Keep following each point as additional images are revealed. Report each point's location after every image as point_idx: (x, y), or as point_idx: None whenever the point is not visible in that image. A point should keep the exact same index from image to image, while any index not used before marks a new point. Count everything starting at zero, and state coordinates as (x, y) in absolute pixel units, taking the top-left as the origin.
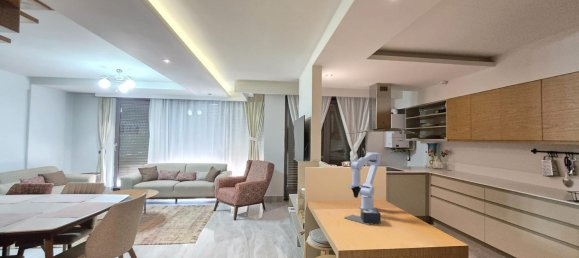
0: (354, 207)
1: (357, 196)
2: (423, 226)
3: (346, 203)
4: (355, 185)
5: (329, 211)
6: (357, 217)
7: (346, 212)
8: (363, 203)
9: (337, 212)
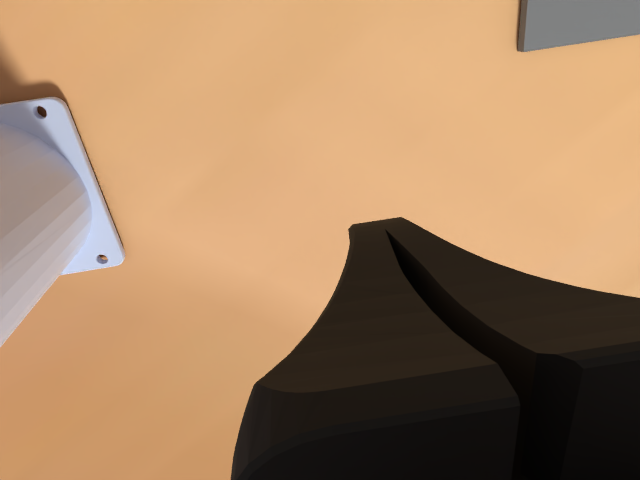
0: (160, 313)
1: (380, 226)
2: None
3: (126, 462)
4: None
5: None
6: None
7: (453, 200)
8: (53, 235)
9: (538, 253)
